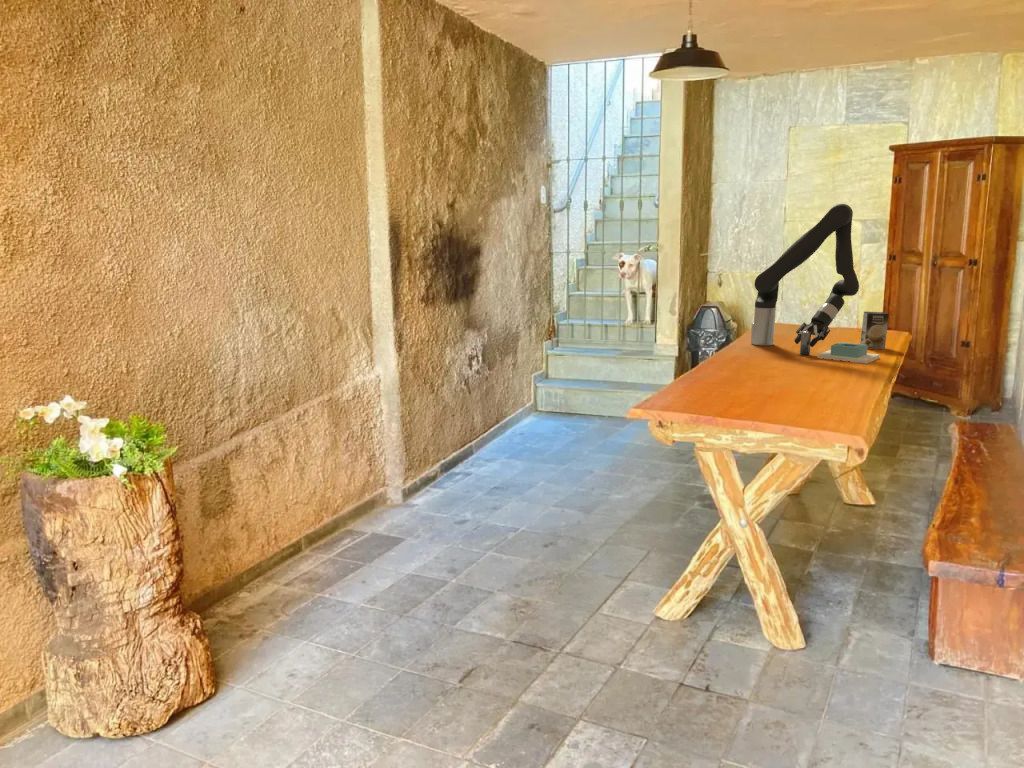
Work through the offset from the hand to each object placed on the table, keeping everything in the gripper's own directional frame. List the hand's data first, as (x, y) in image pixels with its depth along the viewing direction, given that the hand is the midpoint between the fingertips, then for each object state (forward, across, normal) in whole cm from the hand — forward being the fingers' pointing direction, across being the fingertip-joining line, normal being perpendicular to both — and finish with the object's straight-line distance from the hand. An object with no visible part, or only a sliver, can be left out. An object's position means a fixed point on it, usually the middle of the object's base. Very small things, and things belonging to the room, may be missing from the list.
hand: (803, 344), depth 344 cm
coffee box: (-26, +2, +32) cm, 41 cm away
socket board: (-5, +14, +12) cm, 19 cm away
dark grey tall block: (+2, 0, +4) cm, 5 cm away
